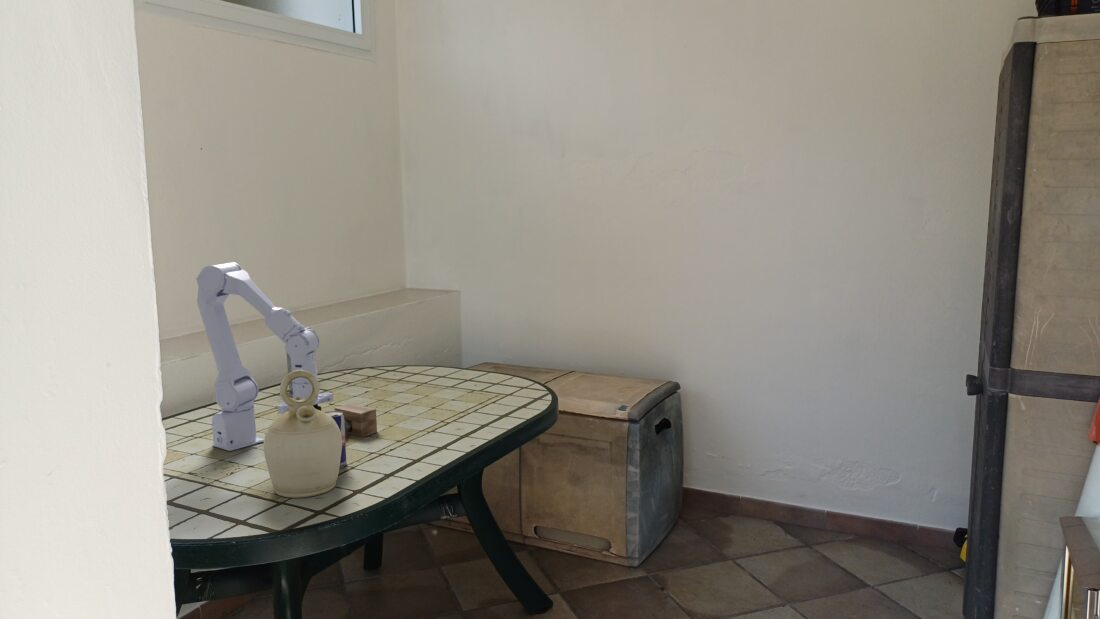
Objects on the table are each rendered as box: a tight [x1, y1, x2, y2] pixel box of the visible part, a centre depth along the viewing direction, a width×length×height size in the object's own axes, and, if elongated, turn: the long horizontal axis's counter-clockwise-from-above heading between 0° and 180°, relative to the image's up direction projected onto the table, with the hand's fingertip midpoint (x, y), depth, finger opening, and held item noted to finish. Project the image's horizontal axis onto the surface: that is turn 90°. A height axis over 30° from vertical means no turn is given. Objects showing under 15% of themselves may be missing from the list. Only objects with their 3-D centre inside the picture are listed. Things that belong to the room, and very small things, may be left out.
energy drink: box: [323, 410, 348, 470], centre depth 184 cm, size 5×5×12 cm
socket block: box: [334, 403, 378, 438], centre depth 211 cm, size 5×10×6 cm, turn 53°
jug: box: [263, 370, 342, 499], centre depth 170 cm, size 15×16×25 cm
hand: (308, 436), depth 200 cm, fingers closed
